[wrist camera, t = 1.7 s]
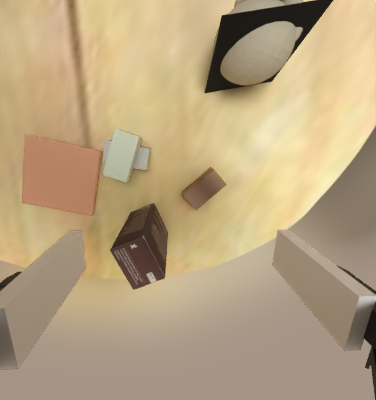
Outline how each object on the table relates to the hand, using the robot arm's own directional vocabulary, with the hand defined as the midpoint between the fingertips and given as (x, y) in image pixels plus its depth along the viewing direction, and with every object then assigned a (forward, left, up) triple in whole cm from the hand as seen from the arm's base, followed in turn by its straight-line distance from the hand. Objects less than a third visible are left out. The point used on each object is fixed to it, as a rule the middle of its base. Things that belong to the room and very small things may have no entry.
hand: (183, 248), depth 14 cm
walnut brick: (+4, +1, -21) cm, 21 cm away
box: (-3, -7, -21) cm, 22 cm away
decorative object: (+4, +20, -21) cm, 29 cm away
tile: (-17, -2, -20) cm, 26 cm away
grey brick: (-8, +3, -21) cm, 22 cm away
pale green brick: (-8, +3, -18) cm, 20 cm away
